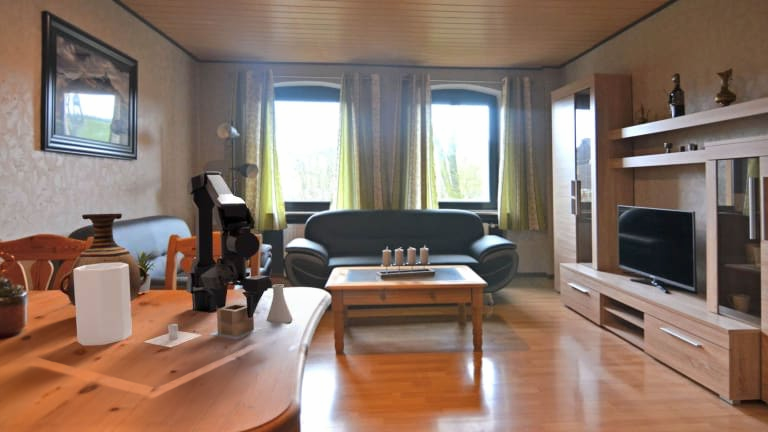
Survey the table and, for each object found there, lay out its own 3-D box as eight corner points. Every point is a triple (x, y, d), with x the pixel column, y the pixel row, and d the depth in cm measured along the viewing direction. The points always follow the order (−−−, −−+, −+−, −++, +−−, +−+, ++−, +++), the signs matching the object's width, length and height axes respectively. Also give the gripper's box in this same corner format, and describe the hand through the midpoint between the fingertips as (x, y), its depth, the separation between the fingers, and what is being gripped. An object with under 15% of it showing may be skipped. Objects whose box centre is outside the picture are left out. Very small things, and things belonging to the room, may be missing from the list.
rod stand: (143, 346, 105) (142, 328, 104) (176, 335, 113) (175, 317, 113) (170, 352, 101) (169, 333, 101) (202, 339, 109) (201, 322, 109)
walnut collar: (235, 326, 115) (234, 303, 115) (253, 329, 113) (253, 305, 112) (217, 333, 110) (216, 309, 110) (236, 336, 107) (235, 311, 107)
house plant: (173, 287, 169) (171, 244, 168) (155, 296, 155) (153, 249, 154) (135, 288, 168) (132, 245, 167) (113, 297, 155) (111, 250, 154)
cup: (74, 354, 101) (69, 272, 100) (81, 339, 111) (76, 265, 110) (131, 345, 106) (127, 267, 105) (133, 332, 116) (129, 260, 115)
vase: (56, 328, 121) (49, 216, 119) (71, 311, 137) (65, 213, 135) (146, 317, 129) (141, 213, 127) (150, 303, 146) (145, 210, 144)
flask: (286, 326, 119) (285, 288, 118) (260, 325, 120) (259, 288, 120) (296, 318, 126) (295, 283, 125) (272, 317, 128) (271, 282, 127)
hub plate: (208, 339, 109) (207, 314, 109) (235, 328, 118) (235, 305, 117) (237, 344, 106) (236, 318, 105) (263, 332, 114) (262, 308, 113)
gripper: (178, 255, 107) (181, 320, 108) (238, 259, 99) (241, 329, 100) (214, 249, 117) (217, 309, 118) (272, 253, 109) (274, 316, 110)
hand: (235, 315), depth 111 cm, fingers open, 9 cm apart
